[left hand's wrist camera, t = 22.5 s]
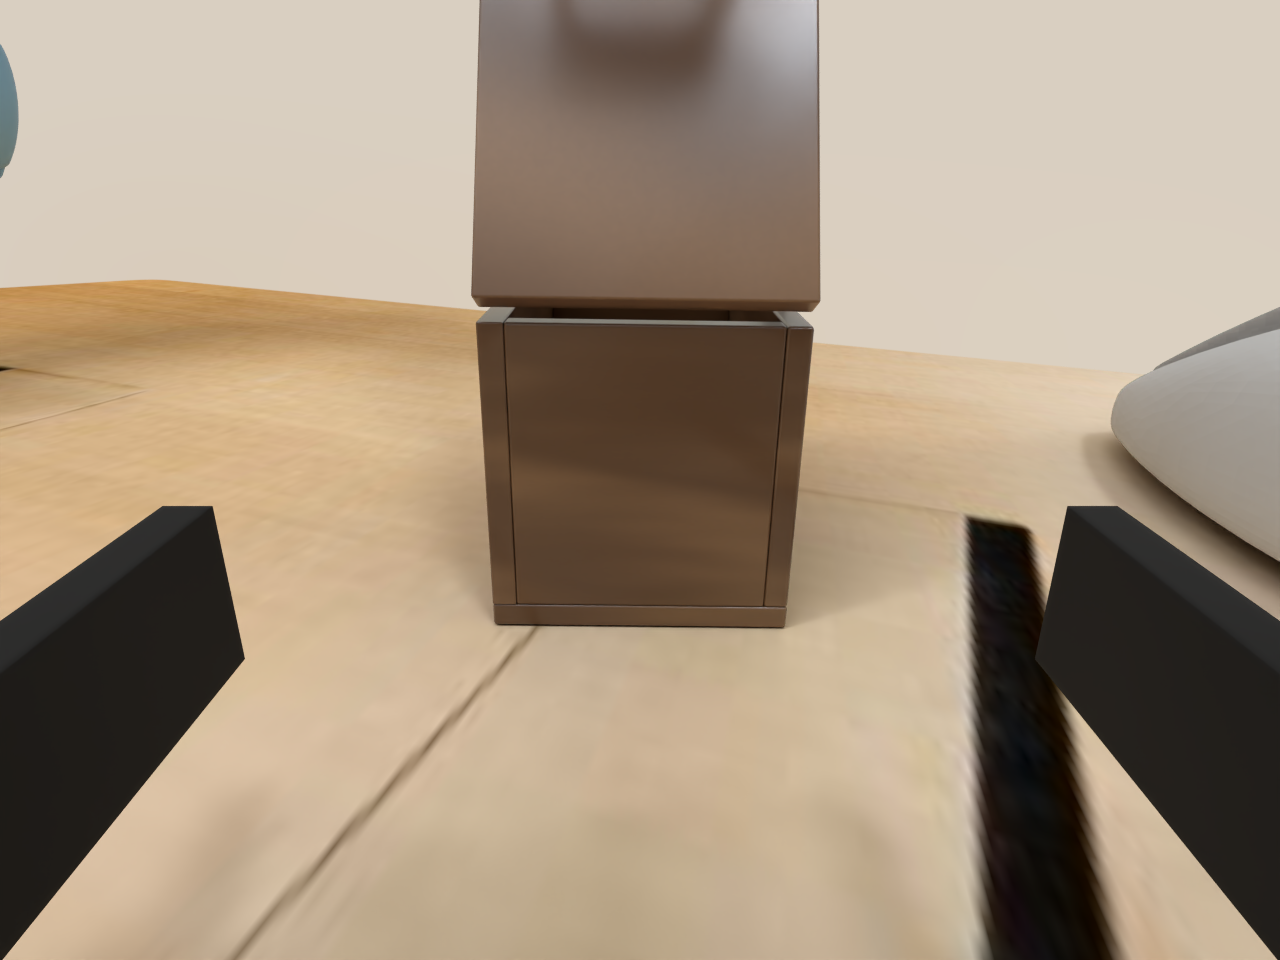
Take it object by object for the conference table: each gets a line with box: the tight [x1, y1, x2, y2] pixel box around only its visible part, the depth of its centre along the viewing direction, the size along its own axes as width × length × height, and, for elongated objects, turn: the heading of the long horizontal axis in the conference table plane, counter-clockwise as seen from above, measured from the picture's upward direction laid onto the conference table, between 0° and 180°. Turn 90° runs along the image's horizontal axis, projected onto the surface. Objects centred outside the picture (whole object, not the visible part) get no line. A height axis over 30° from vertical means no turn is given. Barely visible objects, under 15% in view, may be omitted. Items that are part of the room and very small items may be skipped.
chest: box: [476, 307, 814, 627], centre depth 31 cm, size 14×9×10 cm, turn 0°
